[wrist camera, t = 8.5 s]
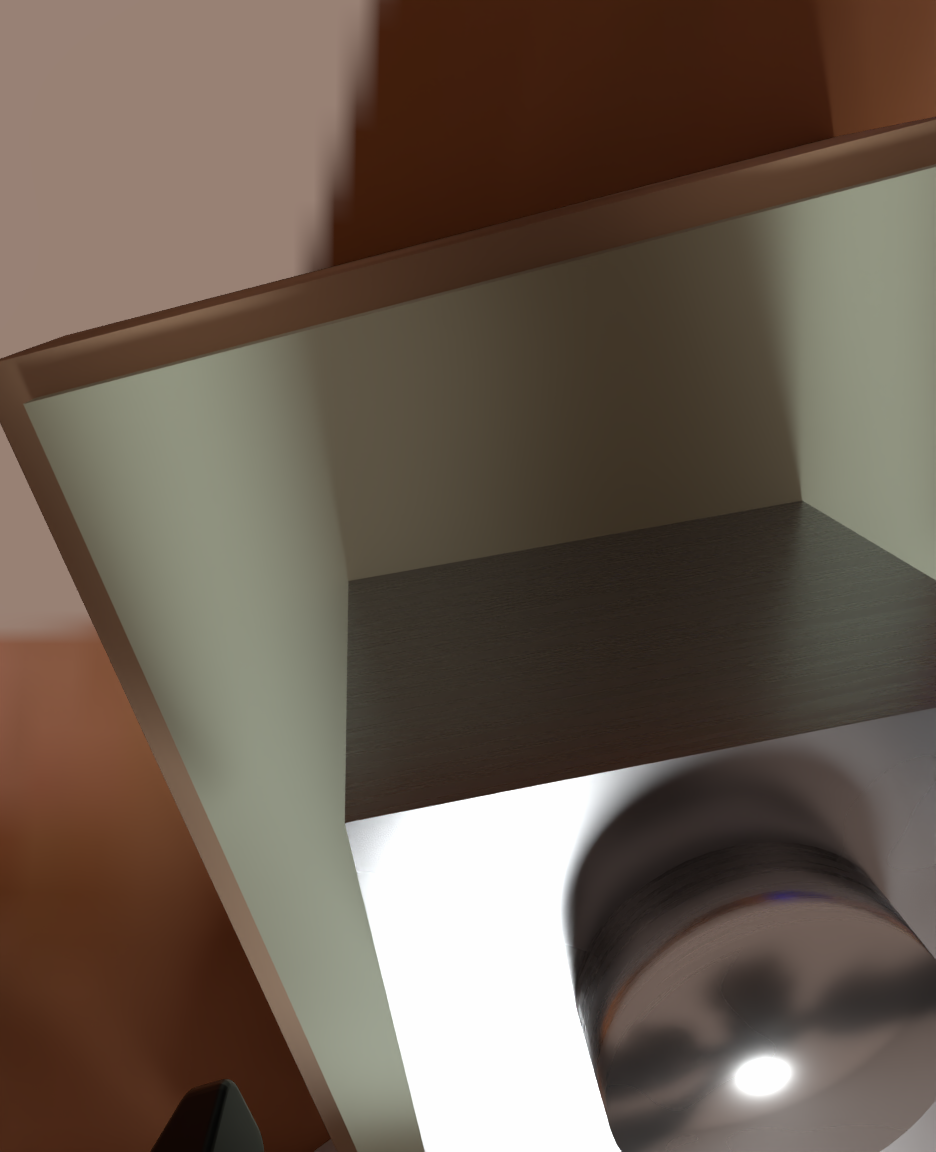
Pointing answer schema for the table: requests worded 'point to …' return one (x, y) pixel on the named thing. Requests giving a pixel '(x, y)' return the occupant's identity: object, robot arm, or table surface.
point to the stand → (458, 487)
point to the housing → (654, 838)
